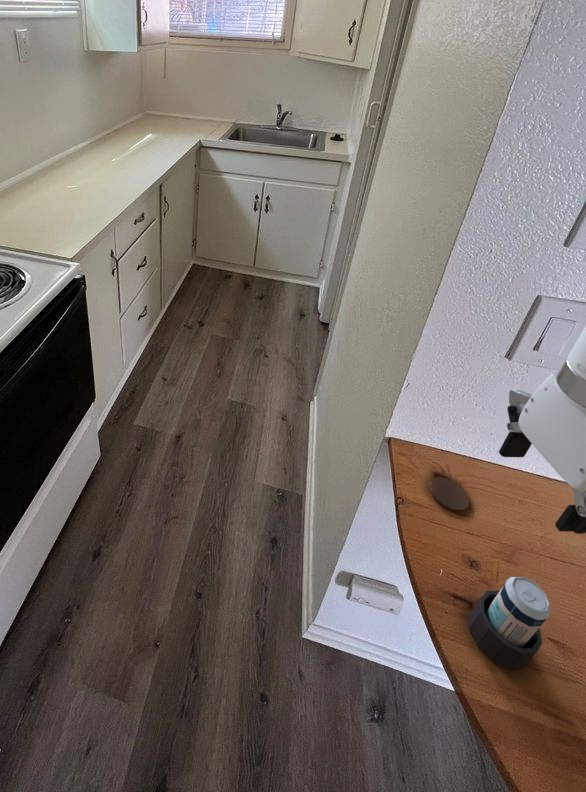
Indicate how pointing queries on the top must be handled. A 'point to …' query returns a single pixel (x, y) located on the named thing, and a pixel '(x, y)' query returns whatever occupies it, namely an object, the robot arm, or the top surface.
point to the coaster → (449, 494)
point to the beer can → (518, 610)
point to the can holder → (499, 638)
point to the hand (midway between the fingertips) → (537, 489)
